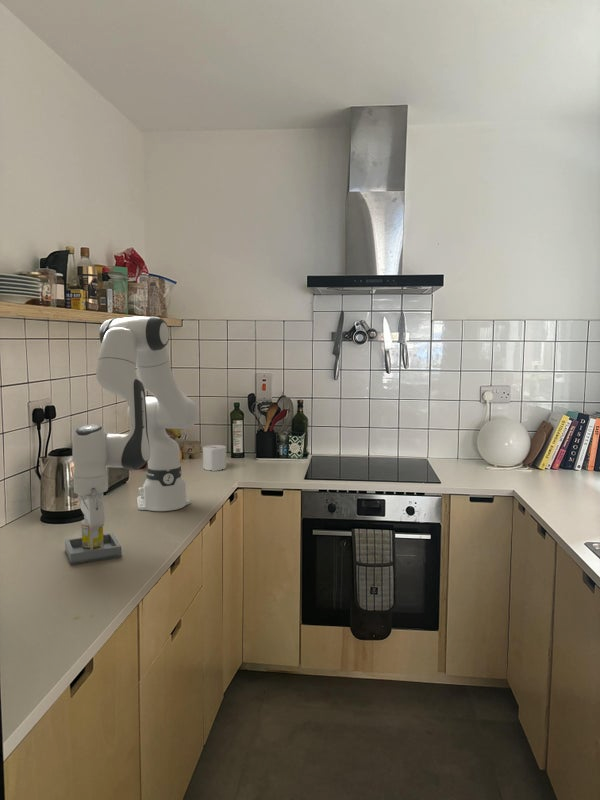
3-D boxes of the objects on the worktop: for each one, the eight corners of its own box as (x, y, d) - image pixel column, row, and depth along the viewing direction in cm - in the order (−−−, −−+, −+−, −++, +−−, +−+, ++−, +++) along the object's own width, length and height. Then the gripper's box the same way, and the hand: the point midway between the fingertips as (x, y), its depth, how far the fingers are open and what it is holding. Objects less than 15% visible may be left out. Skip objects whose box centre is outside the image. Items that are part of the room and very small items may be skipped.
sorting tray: (65, 549, 170) (64, 539, 170) (112, 542, 176) (112, 532, 176) (70, 565, 159) (70, 554, 158) (121, 557, 165) (121, 546, 164)
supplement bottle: (105, 544, 170) (104, 509, 169) (101, 551, 165) (99, 515, 164) (85, 545, 170) (83, 510, 169) (80, 552, 164) (78, 515, 163)
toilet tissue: (219, 465, 285) (219, 444, 284) (231, 469, 276) (231, 448, 275) (199, 467, 279) (198, 446, 278) (210, 472, 270) (210, 450, 269)
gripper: (109, 492, 158) (111, 543, 159) (96, 476, 176) (98, 522, 177) (84, 495, 155) (86, 547, 156) (74, 478, 173) (75, 525, 174)
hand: (92, 533), depth 167 cm, fingers closed on supplement bottle, 5 cm apart
